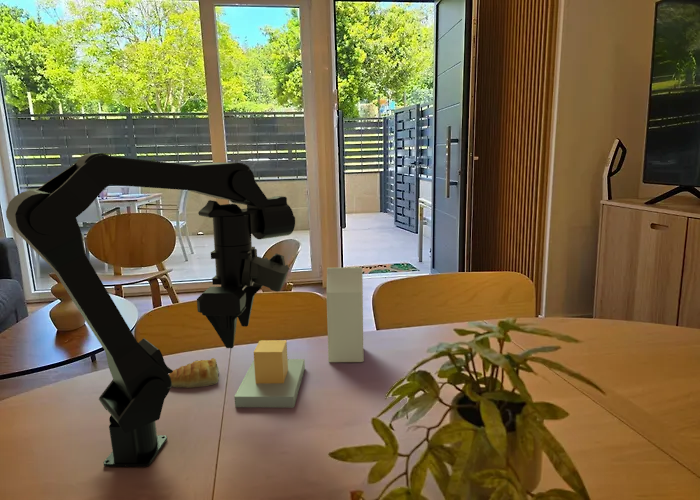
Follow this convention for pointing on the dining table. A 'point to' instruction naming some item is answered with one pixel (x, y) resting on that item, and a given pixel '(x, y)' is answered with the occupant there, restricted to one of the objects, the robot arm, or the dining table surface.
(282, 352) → the small yellow upright block
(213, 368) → the pastry
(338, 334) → the milk carton
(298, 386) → the pale green flat slab
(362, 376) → the dining table surface
